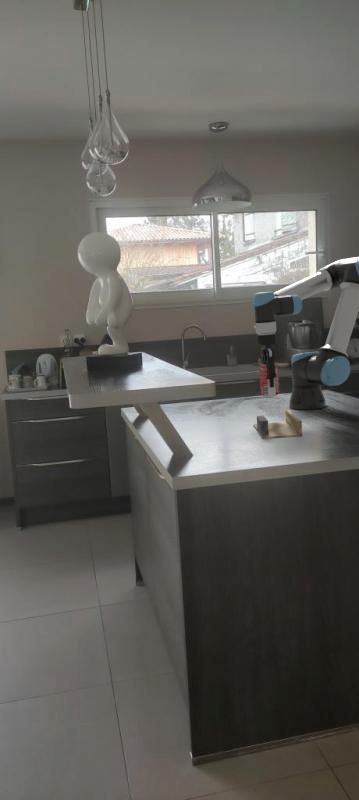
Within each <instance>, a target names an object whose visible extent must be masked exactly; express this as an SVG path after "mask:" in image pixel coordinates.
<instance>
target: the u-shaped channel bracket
mask: <svg viewBox="0 0 359 800" xmlns="http://www.w3.org/2000/svg"><path fill="white" fill-rule="evenodd" d="M284 412H285V413H284V414H285V421H279V422H277V421H276V422H269V420H268V419H267V418H266V416H264V415H256V423H253V427H254V429H255V430H256V431H257V433H258V435H260V437H261V439H262V440H264V439H265V440H266V439H276V438H277V439H278V438H279V439H280V438H289V437H290V438H292V437H302V436H303V421H302V420H301V419H299V417H297V415H295V414H294V413H293V412H292V411H291V410H289V409H285V410H284Z"/></svg>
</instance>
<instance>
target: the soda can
mask: <svg viewBox="0 0 359 800" xmlns="http://www.w3.org/2000/svg"><path fill="white" fill-rule="evenodd" d="M275 374H276V377H275V389H276V396H275V397H277V396H278V395H279V394H280V379H279V378H280V377H279V376H280V375H279V367H278V366H277V364H276V363H275ZM266 377H268V375H267V367H266V364H262V363H261V364H260V368H259V385H260V386H259V387H260V393H261V396H264V397H266V398H271V397H274V396H268V383H267V379H266Z"/></svg>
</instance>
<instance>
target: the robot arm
mask: <svg viewBox="0 0 359 800" xmlns="http://www.w3.org/2000/svg"><path fill="white" fill-rule="evenodd" d="M338 288H340V289H341V293H340V296H339V299H338V301H337V302H338V303H337V305H336V309H335V312H334V315H333V318H332V322H331V325H330V328H329V331H328V335H327V336H326V337H327V338H326V341H325V344H324V346H321V347H320V348H319V350H318V351H309V352H302V353H296V354H293V355H292V356H291V377H292V378H291V379H292V380H291V381H292V391H291V395H290V399H289V405H288V406H289V408H290V409H293V410H299V411H300V410H301V411H302V410H303V411H306V410H318V409H322V408H325V407H326V402H327V401H326V398H325V395H324V393H323V391H322V385H325V386H329V387H330V386H339V385H341V384H343V383H345V382H346V380H348V378H349V376H350V373H351V366H350V365H351V364H350V361H349V360H348V359H349V355H348V353H347V350H348V346H349V343H350V339H351V336H352V333H353V329H354V326H355V323H356V319H357V317H358V313H359V256H353V257H348V258H347V257H346V258H345V257H344V258H341V259H338V260H336V261H334V262H331V263H330V264H327V265H325V266H323V267H321V268H319V269H317V270H316V272H315V273H314V274H312V275H310V276H307V277H305V278H303V279H301V280H299V281H297V282H295V283H292V284H289V285H287V286H285V287H283V288H281V289H280V290H277V291H275V292H274V291H266V292H265V291H264V292H255V294H254V295H253V302H252V304H251V310H252V312H253V313H254V321H255V325H254V327H253V328H254V329H255V333H256V345H257V346H262V348H261V349H260V351H261V358H262V359H261V361H262V363H261V365H262V364H266V367H267V375H268V377H266V379H267V383H268V396H273V397H277V396H276V389H275V377H276V374H275V364H276V363H275V351H274V349H273V348H272V345H276V344H277V343H278V339H277V334H276V332H277V321H276V317H284V316H285V317H286V316H294V315H298V314H299V313H301V311H302V309H303V300H305V299H307V298H309V297H311V296H314V295H315V294H317V293H320V292H322V291H325V292H327V291H329V290H333V289H338Z"/></svg>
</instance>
